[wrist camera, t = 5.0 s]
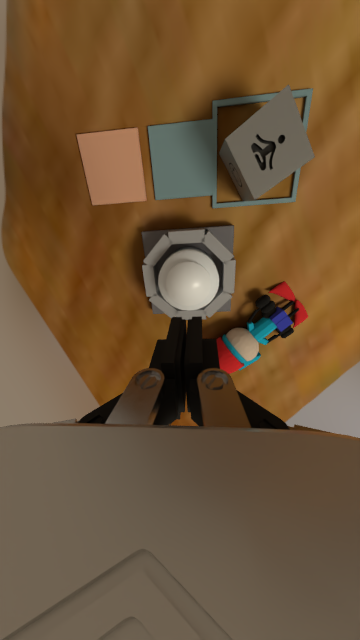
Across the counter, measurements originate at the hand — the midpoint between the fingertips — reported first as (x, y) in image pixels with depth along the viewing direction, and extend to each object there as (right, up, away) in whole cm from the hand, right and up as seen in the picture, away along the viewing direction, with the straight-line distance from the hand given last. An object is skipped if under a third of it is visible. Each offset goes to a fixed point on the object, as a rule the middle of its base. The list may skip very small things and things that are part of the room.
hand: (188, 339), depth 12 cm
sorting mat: (0, +17, +9) cm, 19 cm away
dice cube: (+7, +17, +9) cm, 20 cm away
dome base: (+1, +7, +14) cm, 16 cm away
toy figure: (+9, 0, +18) cm, 20 cm away
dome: (+1, +6, +13) cm, 14 cm away
